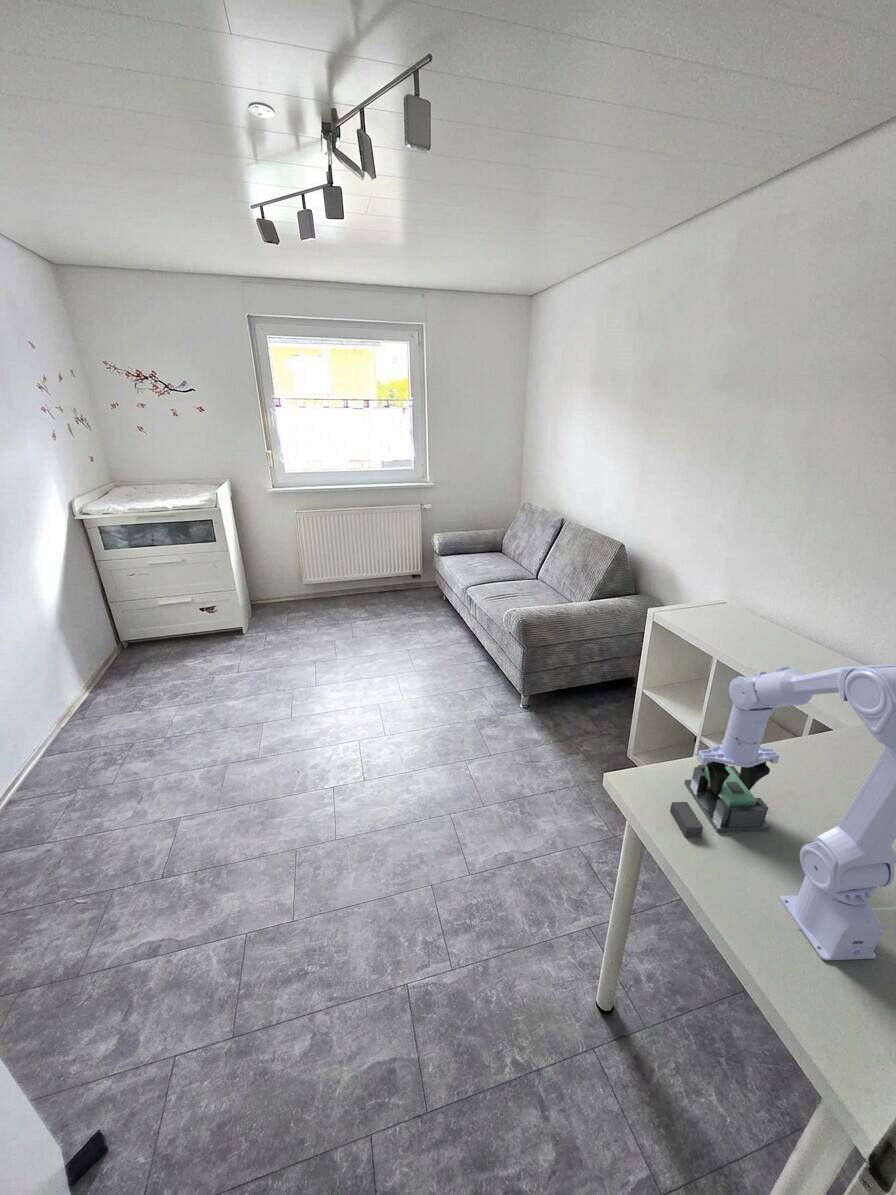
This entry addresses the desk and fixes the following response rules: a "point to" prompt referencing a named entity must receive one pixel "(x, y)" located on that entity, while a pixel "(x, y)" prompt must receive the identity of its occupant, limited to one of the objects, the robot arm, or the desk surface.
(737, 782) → the board
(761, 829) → the chassis
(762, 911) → the desk surface
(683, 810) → the dark grey rectangular block
